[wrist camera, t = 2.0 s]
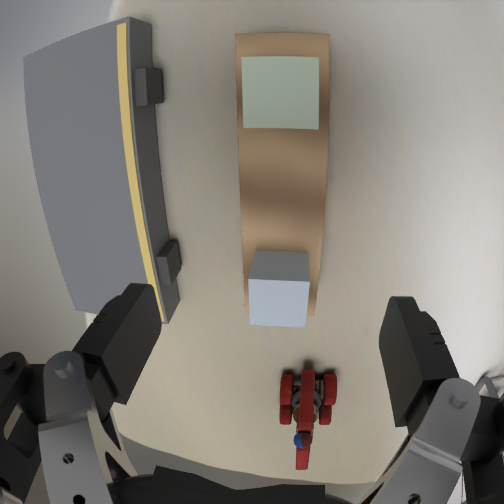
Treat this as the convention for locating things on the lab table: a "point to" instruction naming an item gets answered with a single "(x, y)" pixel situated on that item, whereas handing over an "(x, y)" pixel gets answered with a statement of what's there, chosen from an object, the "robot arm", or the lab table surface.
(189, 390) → the lab table surface
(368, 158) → the lab table surface
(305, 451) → the toy fire truck
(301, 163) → the tan wooden bar
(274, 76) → the block
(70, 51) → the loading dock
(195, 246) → the lab table surface
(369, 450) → the lab table surface
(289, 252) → the block
